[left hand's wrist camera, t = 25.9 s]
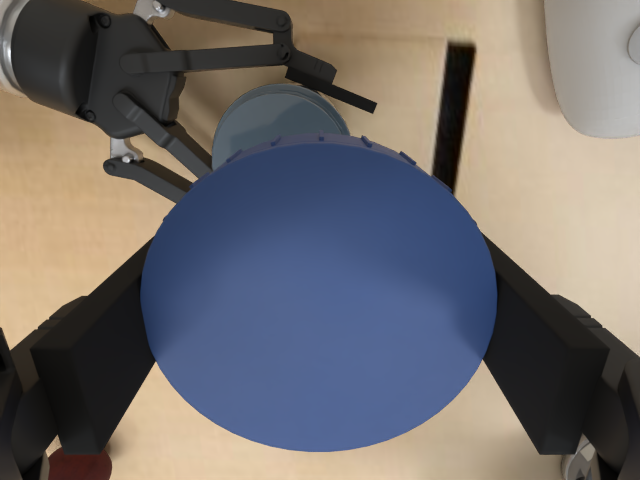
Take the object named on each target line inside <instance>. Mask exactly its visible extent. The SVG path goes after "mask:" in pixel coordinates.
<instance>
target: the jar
mask: <svg viewBox="0 0 640 480" xmlns="http://www.w3.org/2000/svg"><path fill="white" fill-rule="evenodd" d="M319 130H323V131H324V133H333V134H340V135H347V136H350V132H349V130H348V128H347V125H346V123H345V121H344V120H343V118H342V117H341V115H340V114H339V112H338V111H337V109H336V108H335V106H334V105H333V104H332V102H331V101H330V100H329V99H328V98H327V97H326V96H325V95H324V94H323V93H321V92H319V91H316V90H314V89H311V88H309V87H307V86H304V85H302V84H299V83H282V84H269V85H265V86H261V87H258V88H255V89H253V90H251V91H249V92H247V93H245V94H244V95H242V96H241V97H239V98H238V99H237V100H236V101H234V103H233V104H232V105H231V106H230V107H229V108H228V109H227V110H226V112H225V113H224V115H223V116H222V118H221V120H220V122H219V124H218V126H217V129H216V132H215V136H214V140H213V146H212V169H213V171H214V170H215V169H217V168H218V167H219V166H220V165H222V164H223V163H224V162H226V159H227V158H229V157H230V156H231V155H233V154H234V153H235V152H236V151H238V150H239V149H242V151H244V150H246V149H249V148H251V147H253V146H256V145H258V144H260V143H263V142H266V141H270V140H273V139H274V138H275V137H276V136H277V135H279V134H281V137H284V136H290V135H298V134H305V133H319Z"/></svg>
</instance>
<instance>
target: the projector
mask: <svg viewBox="0 0 640 480" xmlns="http://www.w3.org/2000/svg"><path fill="white" fill-rule="evenodd" d="M544 11H545V26H546V37H547V46H548V55H549V62H550V69H551V74H552V80H553V85H554V89H555V93H556V97H557V100H558V103H559V106H560V109H561V111H562V113H563V115H564V117H565V119H566V121H567V122H568V123H569V124H570V125H571V126H572V127H573V129H575V130H576V131H578V132H579V133H581V134H584V135H586V136H591V137H595V138H610V139H615V138H627V137H633V136H638V135H640V0H544Z"/></svg>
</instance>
